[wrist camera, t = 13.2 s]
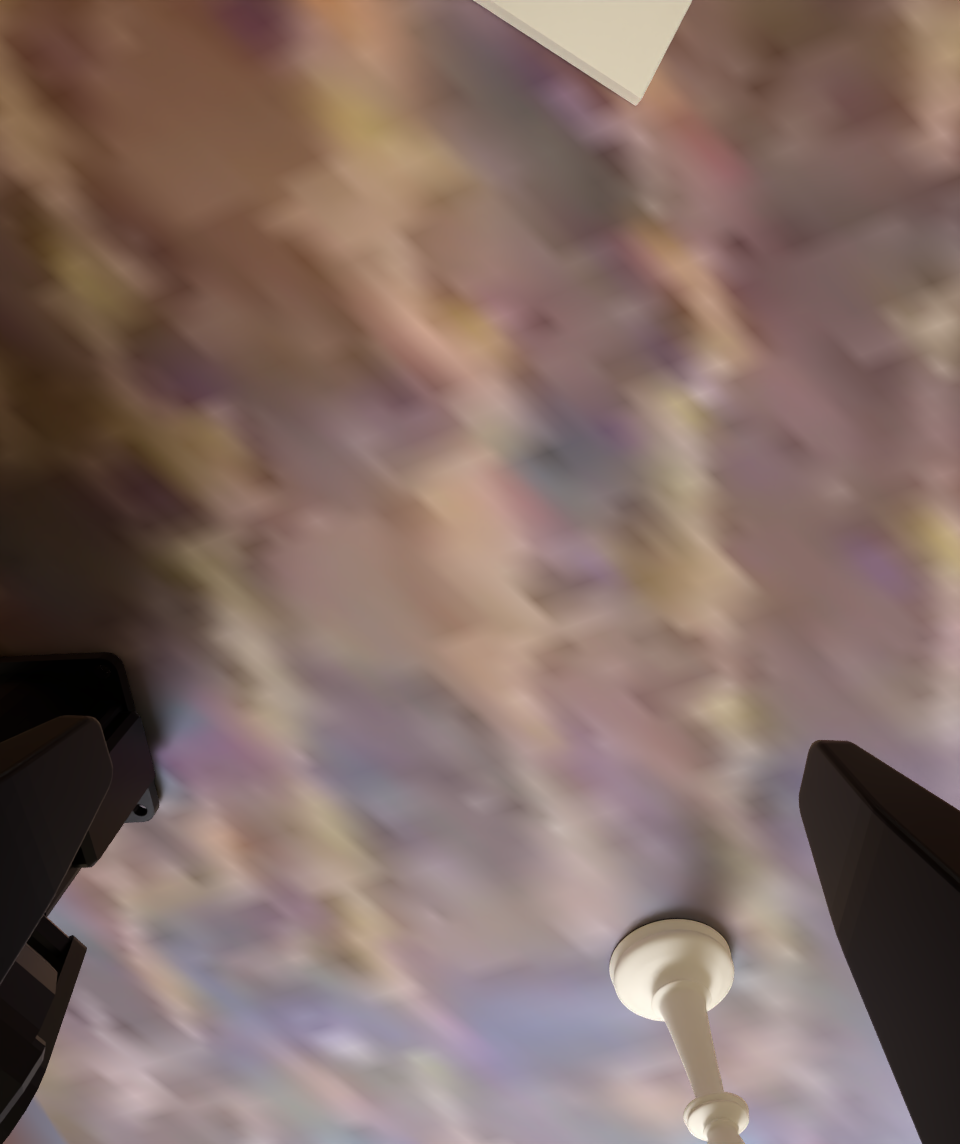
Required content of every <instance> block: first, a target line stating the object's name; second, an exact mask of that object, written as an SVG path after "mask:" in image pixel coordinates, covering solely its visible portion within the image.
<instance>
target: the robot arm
mask: <svg viewBox="0 0 960 1144" xmlns="http://www.w3.org/2000/svg"><path fill="white" fill-rule="evenodd" d="M101 665H103V666H106V667H107V668H108V669H109V670H110V673H107V672H105V671H103V670H102V668H101ZM154 778H155V771H154V767H153V763H152V760H151V756H150V752H149V748H148V744H147V740H146V736H145V732H144V728H143V724H142V721H141V717H140V716H139V715H138V714H137V712H136V711H135V707H134V703H133V699H132V695H131V692H130V688H129V684H128V680H127V676H126V672H125V668H124V665H123V663H122V661H121V660H120V659H119V658H118V657H117V656H116V655H114V654H112V653H105V652H103V653H80V654H57V655H34V656H11V657H0V1144H3V1142H4V1141H5V1140H6V1138H7V1137H8V1136H9V1135H10V1133H11V1131H12V1130H13V1129H14V1127H15V1126H16V1124H17V1123H18V1121H19V1120H20V1118H21V1117H22V1115H23V1114H24V1112H25V1111H26V1109H27V1107H28V1106H29V1104H30V1102H31V1100H32V1099H33V1097H34V1095H35V1093H36V1091H37V1090H38V1088H39V1085H40V1083H41V1081H42V1078H43V1076H44V1074H45V1071H46V1068H47V1066H48V1063H49V1060H50V1057H51V1054H52V1051H53V1048H54V1045H55V1042H56V1039H57V1036H58V1033H59V1030H60V1027H61V1024H62V1021H63V1018H64V1015H65V1012H66V1009H67V1006H68V1003H69V1001H70V998H71V995H72V992H73V989H74V986H75V983H76V980H77V977H78V974H79V971H80V968H81V965H82V962H83V959H84V956H85V953H86V950H87V947H85V946H84V945H83V944H82V943H81V942H80V941H79V940H78V939H77V938H76V937H74V936H73V935H72V936H69V937H68V936H67V935H66V934H65V933H64V932H63V931H62V930H60V929H59V928H58V927H57V926H56V925H55V924H54V923H53V922H52V921H50V920H49V919H48V918H47V916H48V915H49V913H50V912H51V911H52V909H53V908H54V906H55V905H56V904H57V902H58V901H59V899H60V898H61V896H62V895H63V894H64V892H65V891H66V889H67V888H68V886H69V885H70V884H71V882H72V881H73V879H74V878H75V876H76V875H77V874H78V872H79V871H80V869H81V868H86V867H92V866H93V865H94V864H95V863H96V862H97V861H98V860H99V859H100V858H101V856H102V855H103V853H104V852H105V850H106V849H107V847H108V846H109V844H110V843H111V842H112V840H113V839H114V837H115V836H116V834H117V833H118V831H119V830H120V828H121V827H122V825H123V824H124V823H130V822H145V821H149V820H150V819H152V818H153V816H154V815H155V813H156V811H157V810H158V808H159V800H158V796H157V792H156V788H155V784H154ZM139 805H143V806H145V807H146V808H142V807H140V806H139ZM799 808H800V813H801V817H802V821H803V824H804V827H805V831H806V834H807V838H808V841H809V845H810V848H811V851H812V855H813V858H814V862H815V865H816V868H817V872H818V875H819V879H820V882H821V885H822V889H823V892H824V896H825V899H826V903H827V906H828V909H829V913H830V916H831V919H832V922H833V925H834V929H835V932H836V935H837V938H838V940H839V943H840V945H841V948H842V951H843V953H844V956H845V958H846V961H847V963H848V966H849V968H850V970H851V973H852V975H853V978H854V980H855V983H856V985H857V987H858V990H859V992H860V995H861V997H862V999H863V1002H864V1004H865V1007H866V1009H867V1012H868V1014H869V1016H870V1019H871V1021H872V1024H873V1026H874V1029H875V1031H876V1033H877V1036H878V1038H879V1041H880V1043H881V1045H882V1048H883V1050H884V1053H885V1055H886V1058H887V1060H888V1062H889V1065H890V1067H891V1070H892V1072H893V1075H894V1077H895V1079H896V1082H897V1084H898V1087H899V1089H900V1091H901V1094H902V1096H903V1099H904V1101H905V1104H906V1106H907V1108H908V1111H909V1113H910V1116H911V1118H912V1120H913V1123H914V1125H915V1128H916V1130H917V1133H918V1135H919V1137H920V1140H921V1142H922V1144H960V811H959V810H958V809H956V808H955V807H953V806H951V805H950V804H948V803H947V802H945V801H944V800H942V799H940V798H939V797H937V796H936V795H934V794H933V793H931V792H929V791H928V790H926V789H925V788H923V787H922V786H920V785H918V784H917V783H915V782H914V781H912V780H911V779H909V778H907V777H906V776H904V775H903V774H901V773H900V772H898V771H896V770H895V769H893V768H892V767H890V766H889V765H887V764H885V763H884V762H882V761H881V760H879V759H877V758H876V757H874V756H873V755H871V754H870V753H868V752H866V751H865V750H863V749H862V748H860V747H859V746H857V745H855V744H854V743H852V742H849V741H835V740H817V741H815V742H814V743H812V745H811V747H810V749H809V752H808V756H807V761H806V765H805V770H804V774H803V779H802V783H801V787H800V792H799Z"/></svg>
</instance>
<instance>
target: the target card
mask: <svg viewBox="0 0 960 1144" xmlns="http://www.w3.org/2000/svg"><path fill="white" fill-rule="evenodd" d="M473 1H475V2H477V3H478V4H480V5H481V6H483V7H484V8H486V9H487V10H489V11H490V12H492V13H493V14H495V15H497V16H498V17H500V18H501V19H503V20H504V21H506V22H507V23H509V24H510V25H512V26H513V27H515V28H517V29H518V30H520V31H521V32H523V33H524V34H526V35H527V36H529V37H530V38H532V39H533V40H535V41H537V42H538V43H540V44H541V45H543V46H544V47H546V48H547V49H549V50H550V51H552V52H553V53H555V54H557V55H558V56H560V57H561V58H563V59H564V60H566V61H567V62H569V63H570V64H572V65H573V66H575V67H577V68H578V69H580V70H581V71H583V72H584V73H586V74H587V75H589V76H590V77H592V78H593V79H595V80H596V81H598V82H600V83H601V84H603V85H604V86H606V87H607V88H609V89H610V90H612V91H613V92H615V93H616V94H618V95H620V96H621V97H623V98H624V99H626V100H627V101H629V102H630V103H632V104H633V105H635V106H636V105H637V104H638V103H639V102H640V100H641V99H642V97H643V95H644V93H645V91H646V89H647V87H648V86H649V84H650V82H651V80H652V78H653V76H654V74H655V72H656V70H657V68H658V66H659V64H660V62H661V60H662V58H663V56H664V54H665V52H666V50H667V48H668V47H669V45H670V43H671V41H672V39H673V37H674V35H675V33H676V31H677V29H678V27H679V25H680V23H681V21H682V19H683V17H684V15H685V13H686V11H687V10H688V8H689V6H690V4H691V2H692V0H473Z"/></svg>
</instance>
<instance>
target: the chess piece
mask: <svg viewBox="0 0 960 1144" xmlns="http://www.w3.org/2000/svg"><path fill="white" fill-rule="evenodd" d="M609 972H610V977H611V980H612V983H613V985H614V987H615V991H616V993H617V996H618V997H619V999H620V1000H621V1002H622V1003H623V1004H624V1005H625V1006H626V1007H627V1008H628V1009H629V1010H631V1011H632V1012H634V1013H635V1014H637V1015H640V1016H642V1017H645V1018H648V1019H651V1020H657V1021H665V1022H666V1025H667V1027H668V1029H669V1031H670V1034H671V1036H672V1039H673V1041H674V1043H675V1046H676V1048H677V1051H678V1053H679V1056H680V1058H681V1061H682V1063H683V1066H684V1068H685V1070H686V1073H687V1076H688V1078H689V1081H690V1084H691V1086H692V1089H693V1092H694V1094H695V1097H696V1098H695V1099H694V1100H692V1101H691V1102H690V1103H689V1104H688V1105H687V1107H686V1108H685V1111H684V1115H683V1118H684V1122H685V1124H686V1126H687V1127H688V1129H689V1131H690V1133H691V1134H692V1135H694V1136H695V1137H697V1138H699V1139H701V1140H705V1141H708V1144H745V1143H744V1141H743V1140H742V1138H741V1137H740V1136H739V1134H740V1133H741V1132H743V1131H744V1129H745V1128H746V1127H747V1125H748V1122H749V1114H748V1112H749V1110H748V1106H747V1104H746V1102H745V1101H744V1100H743V1099H742V1098H741V1097H739V1096H737V1095H735V1094H732V1093H728V1092H724V1090H723V1085H722V1081H721V1077H720V1073H719V1069H718V1064H717V1060H716V1055H715V1050H714V1046H713V1041H712V1036H711V1031H710V1026H709V1021H708V1015H707V1011H709V1010H710V1009H712V1008H713V1007H715V1006H716V1005H717V1004H718V1003H720V1002H721V1001H722V999H723V998H724V997H725V996H726V995H727V993H728V992H729V990H730V988H731V986H732V983H733V979H734V965H733V961H732V959H731V952H730V949H729V946H728V944H727V942H726V941H725V939H724V938H723V937H722V936H721V935H720V934H719V933H718V932H717V931H716V930H714V929H713V928H711V927H709V926H707V925H705V924H703V923H700V922H696V921H692V920H686V919H668V920H661V921H657V922H653V923H650V924H647V925H645V926H642V927H640V928H638V929H636V930H635V931H633V932H632V933H630V934H629V935H628V936H626V937H625V938H624V939H623V940H622V941H621V942H620V943H619V944H618V946H617V947H616V949H615V950H614V952H613V954H612V957H611V960H610V966H609Z"/></svg>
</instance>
